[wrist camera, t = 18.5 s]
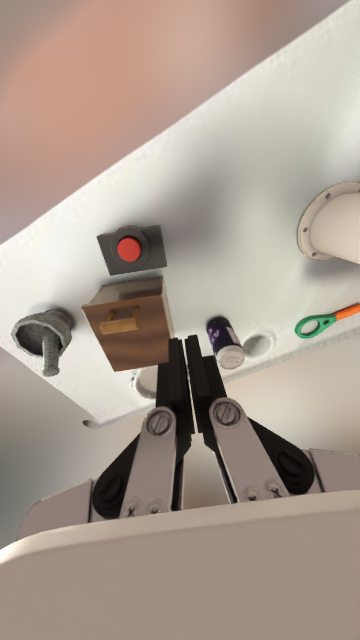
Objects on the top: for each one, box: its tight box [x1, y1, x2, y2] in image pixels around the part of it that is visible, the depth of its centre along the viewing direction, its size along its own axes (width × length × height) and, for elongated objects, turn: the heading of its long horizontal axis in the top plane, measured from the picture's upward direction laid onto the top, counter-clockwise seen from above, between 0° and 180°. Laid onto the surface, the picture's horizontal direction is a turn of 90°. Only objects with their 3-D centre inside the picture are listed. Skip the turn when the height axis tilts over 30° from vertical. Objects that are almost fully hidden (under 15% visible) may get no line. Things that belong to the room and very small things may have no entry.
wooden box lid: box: [81, 293, 171, 372], centre depth 32 cm, size 15×13×5 cm
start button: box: [118, 237, 141, 262], centre depth 31 cm, size 4×4×2 cm
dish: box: [130, 365, 190, 400], centre depth 51 cm, size 14×14×5 cm
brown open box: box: [89, 276, 174, 338], centre depth 38 cm, size 15×13×9 cm
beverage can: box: [207, 317, 245, 369], centre depth 41 cm, size 6×6×12 cm
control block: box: [97, 225, 167, 276], centre depth 34 cm, size 11×8×4 cm
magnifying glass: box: [295, 304, 360, 339], centre depth 46 cm, size 15×6×2 cm, turn 119°
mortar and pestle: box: [11, 310, 72, 377], centre depth 38 cm, size 11×9×12 cm
